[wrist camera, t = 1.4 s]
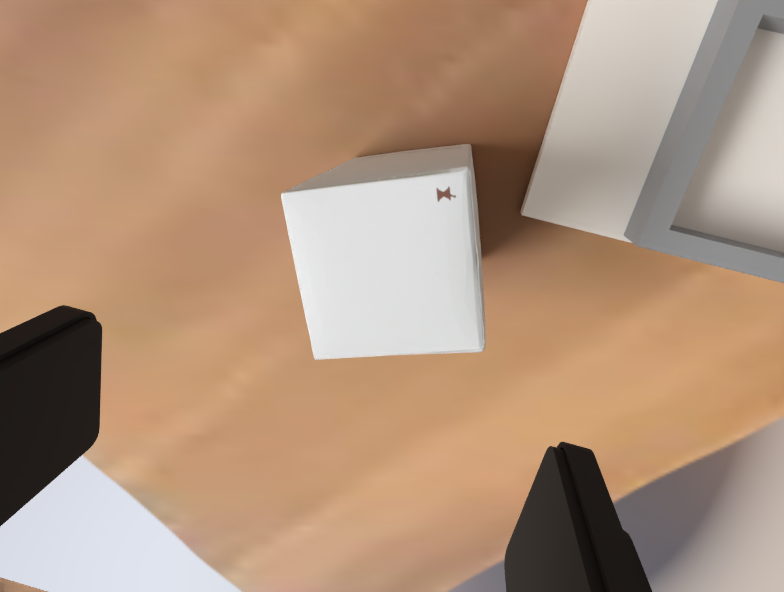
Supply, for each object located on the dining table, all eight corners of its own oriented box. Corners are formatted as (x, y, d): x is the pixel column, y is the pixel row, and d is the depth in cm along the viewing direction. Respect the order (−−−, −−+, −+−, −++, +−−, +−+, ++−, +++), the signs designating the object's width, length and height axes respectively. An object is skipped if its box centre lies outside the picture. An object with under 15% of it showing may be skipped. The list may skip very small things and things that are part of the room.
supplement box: (348, 156, 31) (274, 184, 19) (473, 141, 29) (477, 162, 18) (365, 273, 33) (308, 363, 21) (481, 264, 32) (489, 355, 20)
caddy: (600, -39, 26) (619, -60, 22) (1009, 53, 25) (1091, 44, 21) (520, 211, 30) (526, 224, 27) (861, 297, 29) (910, 320, 26)
